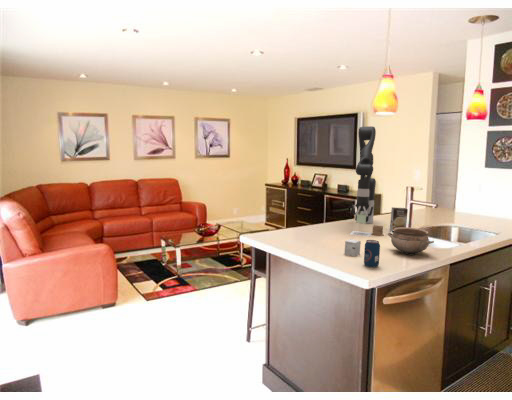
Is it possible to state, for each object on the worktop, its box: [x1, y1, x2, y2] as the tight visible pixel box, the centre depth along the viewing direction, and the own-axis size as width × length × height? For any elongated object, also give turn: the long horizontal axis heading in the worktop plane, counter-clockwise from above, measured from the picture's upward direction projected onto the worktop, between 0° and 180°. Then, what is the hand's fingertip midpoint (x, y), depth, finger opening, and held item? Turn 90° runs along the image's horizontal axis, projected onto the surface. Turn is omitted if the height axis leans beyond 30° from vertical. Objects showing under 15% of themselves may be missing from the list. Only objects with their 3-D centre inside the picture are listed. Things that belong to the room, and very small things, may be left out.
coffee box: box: [389, 206, 409, 232], centre depth 262 cm, size 9×6×16 cm
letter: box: [348, 230, 373, 238], centre depth 255 cm, size 12×13×1 cm
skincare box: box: [344, 238, 362, 257], centre depth 206 cm, size 6×6×7 cm
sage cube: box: [356, 212, 368, 225], centre depth 253 cm, size 6×6×6 cm
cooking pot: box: [387, 226, 435, 255], centre depth 210 cm, size 25×19×12 cm
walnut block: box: [371, 224, 384, 237], centre depth 252 cm, size 6×6×6 cm
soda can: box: [363, 239, 381, 269], centre depth 187 cm, size 7×7×12 cm
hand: (361, 221), depth 253 cm, fingers closed on sage cube, 5 cm apart
